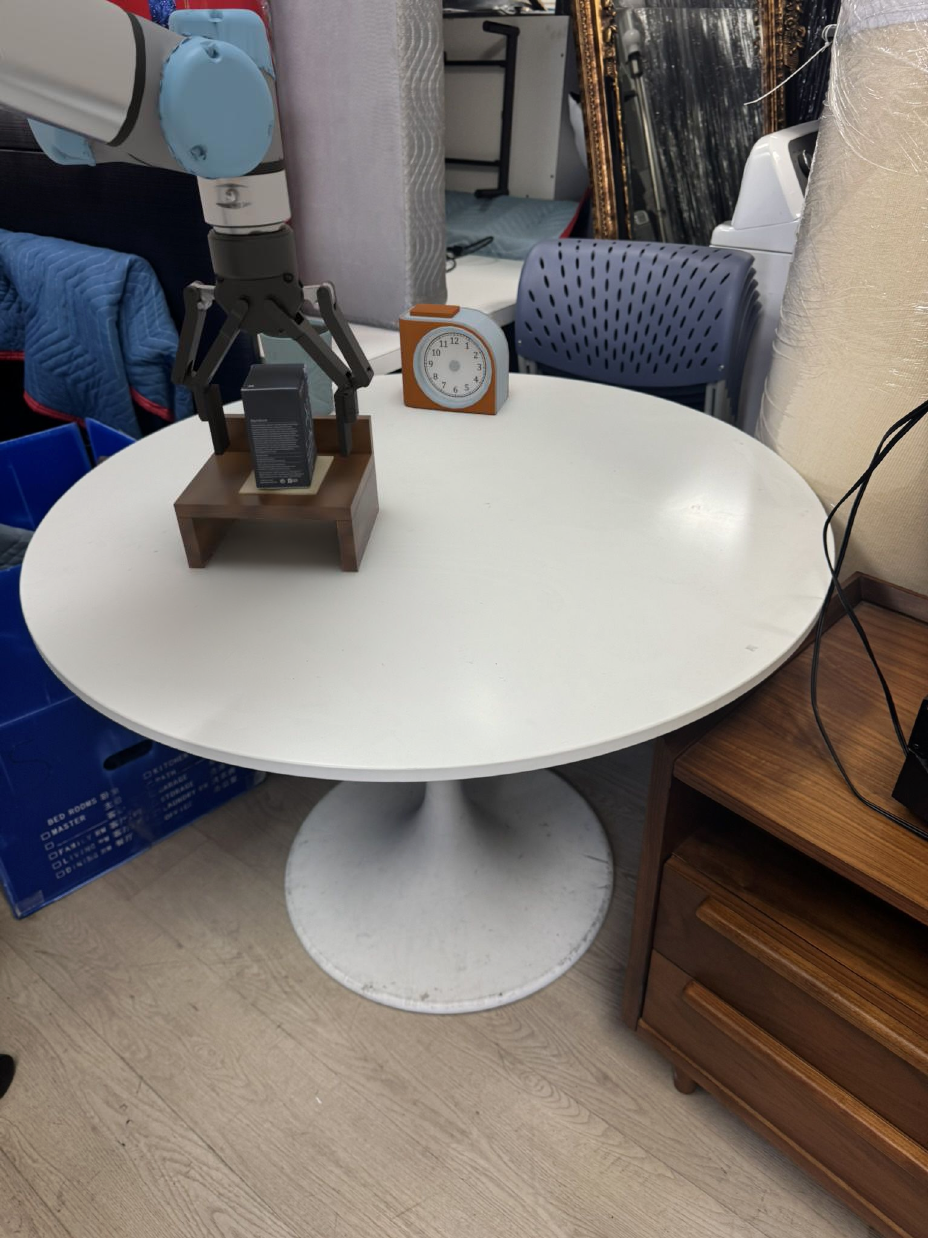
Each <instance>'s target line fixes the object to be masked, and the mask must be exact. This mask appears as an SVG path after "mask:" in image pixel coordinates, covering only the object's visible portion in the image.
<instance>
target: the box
mask: <svg viewBox="0 0 928 1238" xmlns="http://www.w3.org/2000/svg"><path fill="white" fill-rule="evenodd" d="M240 395H241V402H242V408H243V414H245V421H246V427H247V433H248V439H249V445H250V450H251V457H252V463H253V469H254V475H255V481H256V487H257V489H288V488H309V487H310V485H311V481H312V476H313V471H314V467H315V462H316V459H317V452H316V443H315V435H314V427H313V419H312V411H311V403H310V395H309V386H308V377H307V369H306V364H305V363H290V364H267V363H257V364H256V363H253V364H252V365H251V366H250V370H249V372H248V375H247V377H246V379H245V381H244V383H243V385H242V386H241V388H240Z"/></svg>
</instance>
